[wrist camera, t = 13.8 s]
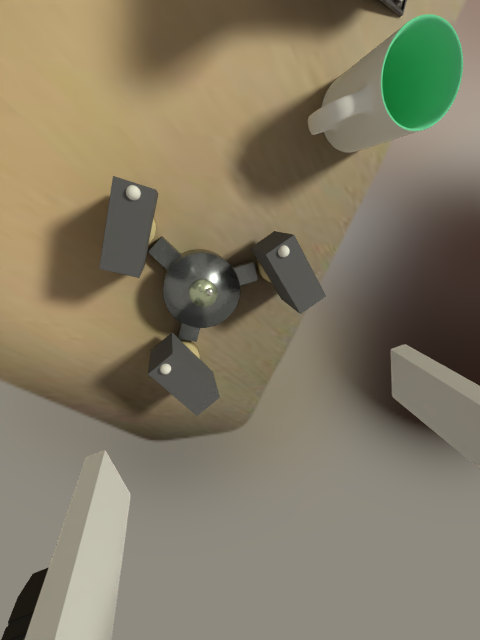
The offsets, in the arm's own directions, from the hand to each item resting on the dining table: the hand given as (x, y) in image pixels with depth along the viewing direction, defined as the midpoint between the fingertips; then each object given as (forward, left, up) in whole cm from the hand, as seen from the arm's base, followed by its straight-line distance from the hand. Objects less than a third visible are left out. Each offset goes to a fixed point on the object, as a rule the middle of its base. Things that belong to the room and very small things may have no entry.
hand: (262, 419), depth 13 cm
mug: (+11, +23, -27) cm, 37 cm away
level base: (0, -2, -27) cm, 27 cm away
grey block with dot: (-9, +5, -27) cm, 28 cm away
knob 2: (+9, +5, -27) cm, 28 cm away
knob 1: (0, -10, -27) cm, 28 cm away
